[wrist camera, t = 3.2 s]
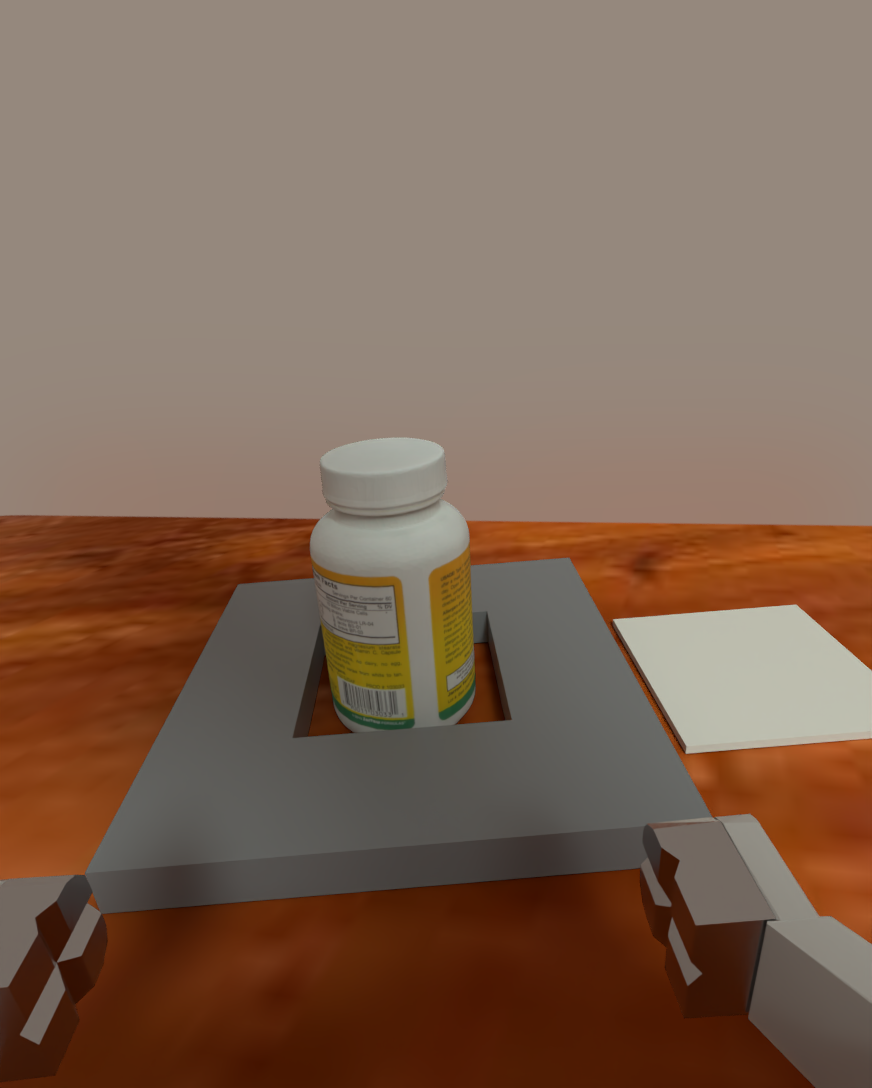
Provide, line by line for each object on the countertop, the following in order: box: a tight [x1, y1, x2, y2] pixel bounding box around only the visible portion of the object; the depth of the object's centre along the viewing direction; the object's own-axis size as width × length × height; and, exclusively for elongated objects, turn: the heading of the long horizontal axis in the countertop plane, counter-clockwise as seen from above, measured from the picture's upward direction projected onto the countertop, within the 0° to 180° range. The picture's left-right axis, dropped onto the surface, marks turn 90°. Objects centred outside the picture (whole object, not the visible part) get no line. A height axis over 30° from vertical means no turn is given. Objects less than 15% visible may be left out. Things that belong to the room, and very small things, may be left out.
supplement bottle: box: [310, 438, 475, 733], centre depth 22 cm, size 5×5×10 cm
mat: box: [613, 605, 872, 754], centre depth 24 cm, size 8×8×1 cm
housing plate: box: [85, 558, 713, 914], centre depth 24 cm, size 16×16×2 cm
